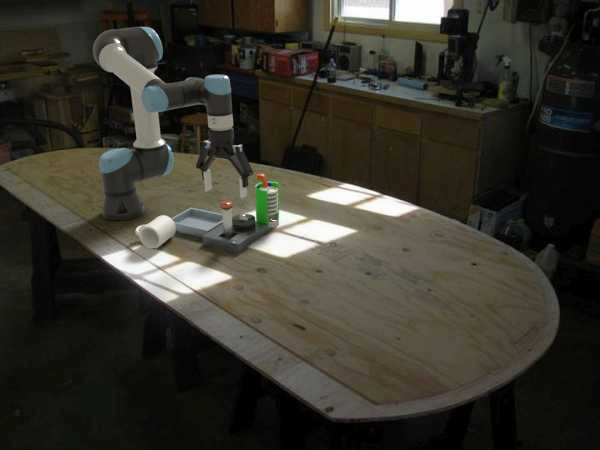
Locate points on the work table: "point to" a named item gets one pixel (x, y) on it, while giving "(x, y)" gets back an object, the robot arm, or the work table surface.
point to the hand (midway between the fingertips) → (225, 193)
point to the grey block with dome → (237, 234)
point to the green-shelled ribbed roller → (267, 201)
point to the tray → (197, 221)
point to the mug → (156, 231)
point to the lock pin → (227, 219)
